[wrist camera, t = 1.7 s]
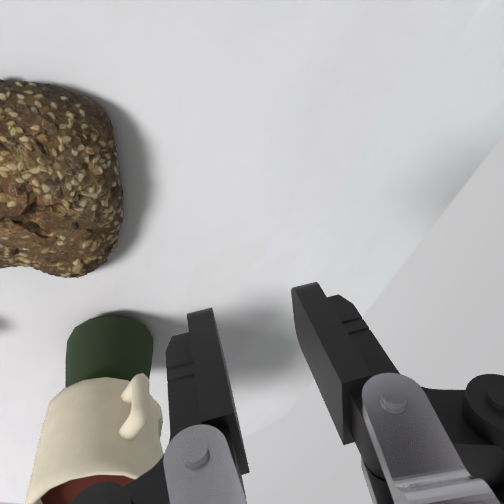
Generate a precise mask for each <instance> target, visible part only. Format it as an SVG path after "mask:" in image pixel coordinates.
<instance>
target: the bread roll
mask: <svg viewBox="0 0 504 504" xmlns="http://www.w3.org/2000/svg"><path fill="white" fill-rule="evenodd" d="M122 196H123V190H122V185H121V179H120V172H119V166H118V159H117V153H116V143H115V140H114V137H113V128H112V124H111V121H110V119H109V117H108V115H107V114H106V112H105V111H104V110H103V109H102V108H101V107H100V106H99V105H98V104H96V103H95V102H93V101H92V100H91V99H90V98H89V97H84V96H79V95H75V94H73V93H71V92H68V91H66V90H64V89H60V88H57V87H54V86H52V85H50V84H45V85H41V84H36V83H31V82H30V83H29V82H26V81H24V82H18V81H17V82H8V81H2V80H0V268H5V267H12V266H13V267H17V266H24V267H29V266H30V267H33V268H34V269H36V270H40V271H42V272H43V273H48V274H49V275H55V276H58V277H59V276H61V277H65V278H67V277H69V278H71V277H77V278H78V277H81V276H84V275H86V274H87V273H90V272H92V271H94V270H95V269H97V268H98V267H99V266H100V265H102V264H104V263H105V262H107V258H106V257H107V256H108V254H109V253H111V252H112V251H113V250H114V249H115V248H116V247H117V243H118V240H117V237H118V235H119V230H120V225H121V223H122V221H123V208H122V205H123V199H122Z"/></svg>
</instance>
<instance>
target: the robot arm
mask: <svg viewBox="0 0 504 504" xmlns="http://www.w3.org/2000/svg"><path fill="white" fill-rule="evenodd" d="M291 294H292V303H293V312H294V321H295V329H296V334H297V338H298V341H299V344H300V347H301V349H302V351H303V354H304V356H305V358H306V361H307V363H308V365H309V367H310V370H311V372H312V374H313V377H314V379H315V381H316V383H317V385H318V388H319V390H320V393H321V395H322V397H323V399H324V401H325V404H326V406H327V408H328V411H329V413H330V415H331V417H332V420H333V422H334V424H335V426H336V429H337V431H338V434H339V436H340V438H341V440H342V443H343V445H345V444H349V443H353V442H355V443H356V445H357V447H358V450H359V452H360V454H361V465H362V470H363V474H364V477H365V480H366V483H367V486H368V489H369V492H370V495H371V498H372V501H373V504H504V376H502V375H497V374H485V375H480V376H477V377H475V378H473V379H472V380H471V381H470V382H469V383H468V385H467V387H466V390H437V389H428V388H424V387H421V386H420V385H419V384H418V383H416V382H415V381H414V380H412V379H410V378H409V377H407V376H404V375H401V374H400V373H399V372H398V370H397V369H396V368H395V366H394V365H393V363H392V362H391V360H390V359H389V357H388V356H387V354H386V353H385V351H384V350H383V348H382V347H381V345H380V344H379V342H378V341H377V339H376V338H375V336H374V335H373V333H372V332H371V330H369V327H368V326H367V324H366V323H365V321H364V320H362V317H361V315H360V314H359V312H358V311H357V309H356V308H355V306H354V305H353V304H352V303H351V302H349V301H348V300H346V299H345V298H343V297H342V296H340V295H335V296H331V297H326V295H325V294H324V292H323V290H322V289H321V287H320V285H319V284H318V283H317V282H314V283H310V284H306V285H301V286H297V287H293V288H292V289H291ZM187 320H188V327H189V332H188V333H184V334H180V335H177V336H173V337H172V338H171V341H170V343H169V345H168V348H167V350H166V367H167V381H168V400H169V417H170V441H169V444H168V446H167V448H166V450H165V453H164V455H163V456H162V458H161V459H160V460H159V461H158V463H157V464H156V465H155V466H154V467H152V468H151V469H150V470H149V471H147V472H146V473H144V474H143V475H141V476H140V477H138V478H137V479H135V480H133V481H132V482H130V483H129V484H127V485H125V486H124V487H123V486H121V485H120V484H118V483H115V482H109V481H106V482H99V483H96V484H93V485H91V486H89V487H87V488H86V489H84V490H83V491H81V492H80V493H79V494H78V495H77V496H76V497H75V498H74V499H73V500H72V501H71V502H70V503H69V504H247V501H246V495H245V491H244V485H243V481H242V476H241V475H243V474H246V473H249V468H248V463H247V458H246V453H245V449H244V444H243V440H242V435H241V431H240V426H239V421H238V417H237V412H236V408H235V403H234V399H233V394H232V390H231V385H230V380H229V376H228V371H227V367H226V362H225V358H224V354H223V349H222V345H221V341H220V337H219V333H218V329H217V325H216V321H215V317H214V313H213V309H212V308H208V309H204V310H200V311H196V312H192V313H188V314H187Z"/></svg>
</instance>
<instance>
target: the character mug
mask: <svg viewBox="0 0 504 504" xmlns="http://www.w3.org/2000/svg"><path fill="white" fill-rule="evenodd" d="M152 354H153V337H152V335H151V334H150V332H149V331H148V329H147V328H146V326H145V325H143V324H141V323H138V322H136V321H134V320H131V319H127V318H120V317H114V316H107V317H100V318H93V319H89V320H87V321H86V322H84V323H82V324H80V325H79V326H77V327H75V329H74V330H73V332H72V334H71V336H70V337H69V339H68V341H67V351H66V388H64V389H63V390H62V391H61V392H60V393H59V394H57V395H56V396H55V397H54V398H53V399H52V400H51V401H50V403H49V405H48V408H47V411H46V415H45V419H44V423H43V427H42V431H41V435H40V440H39V444H38V448H37V453H36V457H35V461H34V466H33V470H32V474H31V479H30V483H29V487H28V492H27V496H26V500H25V504H69V503H70V502H71V501H72V500H73V499H74V498H75V497H76V496H77V495H78V494H79V493H80V492H81V491H83V490H84V489H86V488H87V487H89V486H91V485H93V484H96V483H99V482H106V481H109V482H115V483H118V484H120V485H121V486H123V487H124V486H125V485H127V484H129V483H130V482H132V481H133V480H135V479H137V478H138V477H140V476H141V475H143V474H144V473H146V472H147V471H149V470H150V469H151V468H152V467H154V466H155V465H156V464H157V463H158V461H159V460H160V459H161V458H162V456H163V455H164V454H163V450H162V446H161V443H160V436H161V429H162V424H163V418H162V411H161V407H160V405H159V404H158V403H157V402H156V401H155V400H154V399H153V397H152V396H151V395H150V394H149V376H150V371H151V363H152Z"/></svg>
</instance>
